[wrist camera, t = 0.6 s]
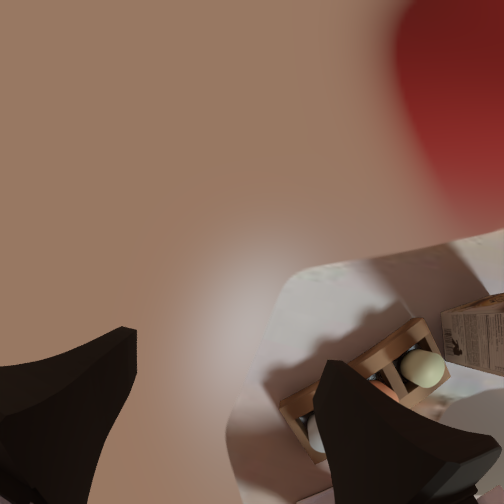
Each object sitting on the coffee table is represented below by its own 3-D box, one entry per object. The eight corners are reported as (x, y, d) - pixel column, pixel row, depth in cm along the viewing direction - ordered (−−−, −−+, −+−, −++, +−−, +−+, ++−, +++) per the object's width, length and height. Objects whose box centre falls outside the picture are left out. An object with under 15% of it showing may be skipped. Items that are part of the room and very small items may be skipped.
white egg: (345, 426, 25) (352, 441, 21) (316, 441, 25) (319, 458, 21) (330, 402, 25) (336, 415, 22) (301, 418, 25) (302, 433, 22)
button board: (412, 317, 28) (423, 317, 25) (439, 372, 26) (450, 376, 23) (280, 401, 28) (279, 409, 25) (313, 453, 26) (315, 464, 23)
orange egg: (390, 397, 24) (403, 408, 21) (363, 415, 25) (373, 429, 21) (377, 373, 25) (390, 381, 21) (349, 391, 25) (358, 402, 22)
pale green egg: (431, 367, 24) (449, 373, 21) (407, 385, 24) (422, 394, 21) (420, 342, 25) (437, 345, 21) (395, 361, 25) (409, 367, 21)
